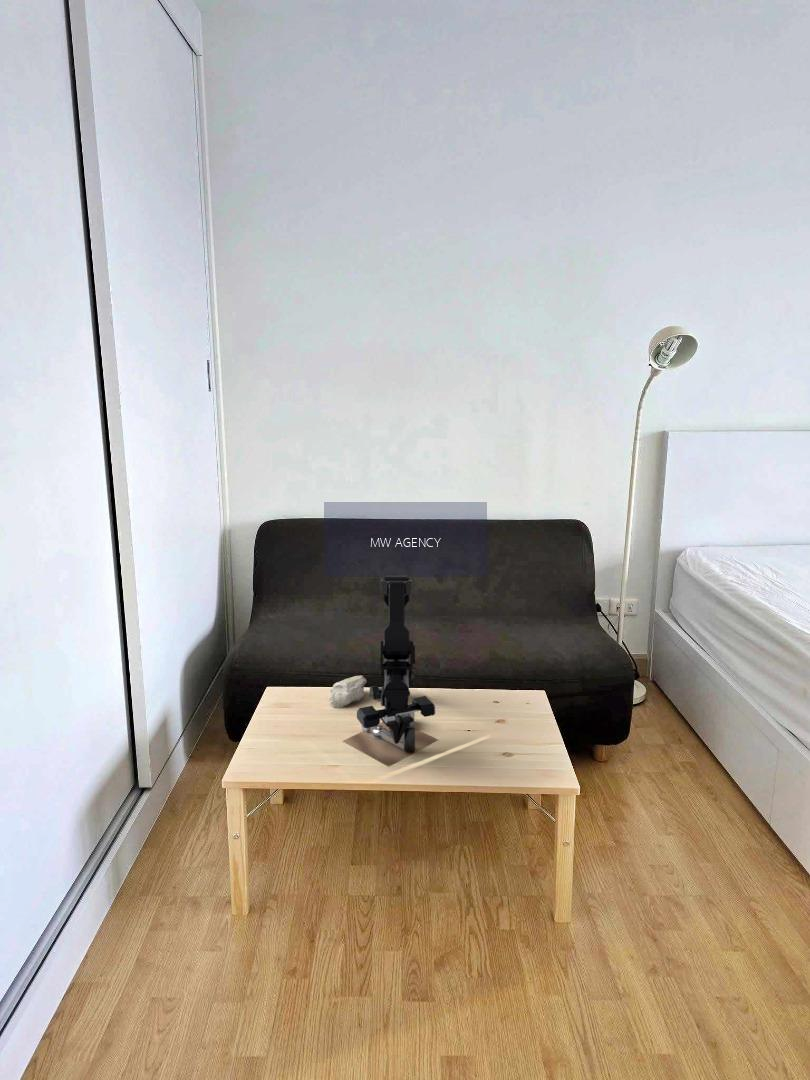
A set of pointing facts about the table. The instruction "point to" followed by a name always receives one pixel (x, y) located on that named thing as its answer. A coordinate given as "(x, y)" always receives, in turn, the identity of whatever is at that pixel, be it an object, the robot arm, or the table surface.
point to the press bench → (387, 745)
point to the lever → (404, 743)
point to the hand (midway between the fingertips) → (396, 742)
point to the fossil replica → (347, 691)
